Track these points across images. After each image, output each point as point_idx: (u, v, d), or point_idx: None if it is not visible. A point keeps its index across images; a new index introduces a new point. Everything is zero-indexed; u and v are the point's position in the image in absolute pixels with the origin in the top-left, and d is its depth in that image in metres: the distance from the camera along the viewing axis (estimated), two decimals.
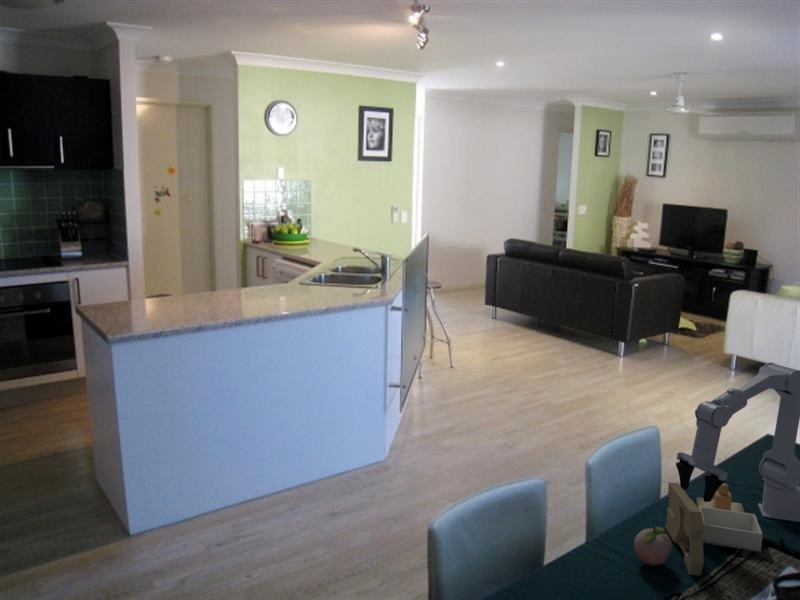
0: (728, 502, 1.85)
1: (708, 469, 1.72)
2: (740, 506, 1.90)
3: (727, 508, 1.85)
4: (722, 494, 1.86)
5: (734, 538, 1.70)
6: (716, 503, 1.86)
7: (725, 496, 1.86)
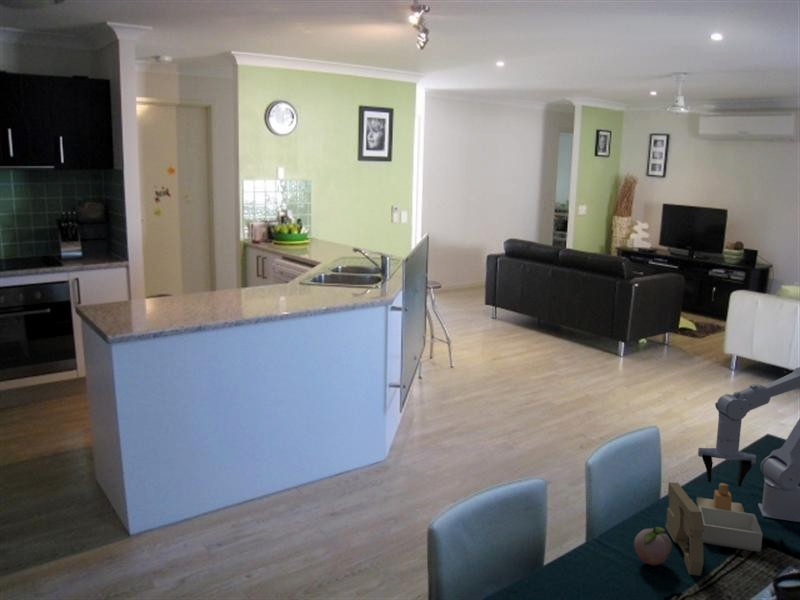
0: (728, 502, 1.85)
1: (742, 457, 1.82)
2: (740, 506, 1.90)
3: (727, 508, 1.85)
4: (722, 494, 1.86)
5: (734, 538, 1.70)
6: (716, 503, 1.86)
7: (725, 496, 1.86)
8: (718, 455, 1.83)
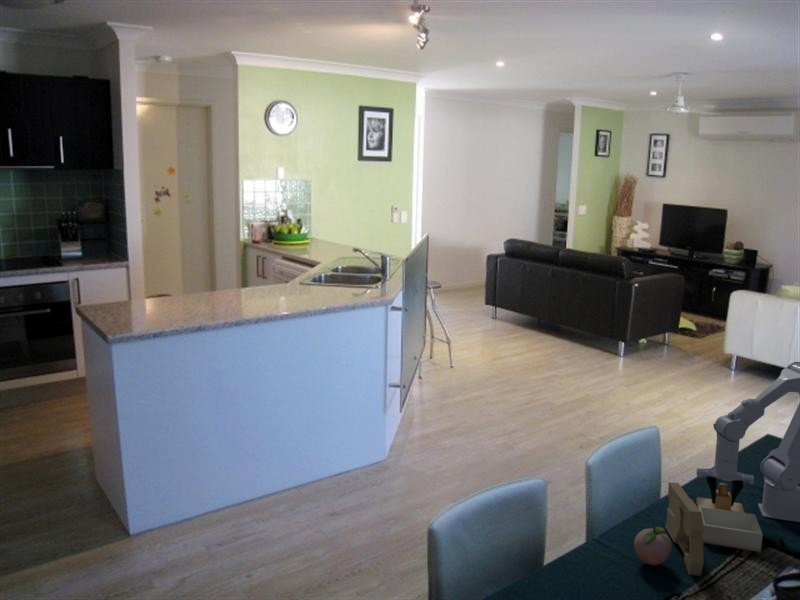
0: (728, 502, 1.85)
1: (740, 478, 1.83)
2: (740, 506, 1.90)
3: (727, 508, 1.85)
4: (722, 494, 1.86)
5: (734, 538, 1.70)
6: (716, 503, 1.86)
7: (725, 496, 1.86)
8: (716, 476, 1.84)
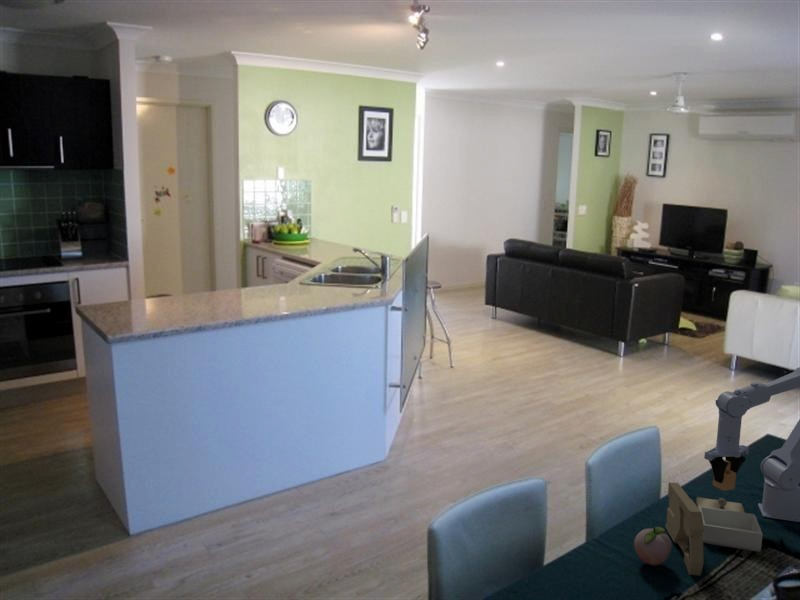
0: (733, 478, 1.85)
1: (742, 451, 1.84)
2: (740, 506, 1.90)
3: (732, 484, 1.85)
4: (727, 471, 1.85)
5: (734, 538, 1.70)
6: (725, 482, 1.84)
7: (730, 472, 1.85)
8: (727, 455, 1.82)
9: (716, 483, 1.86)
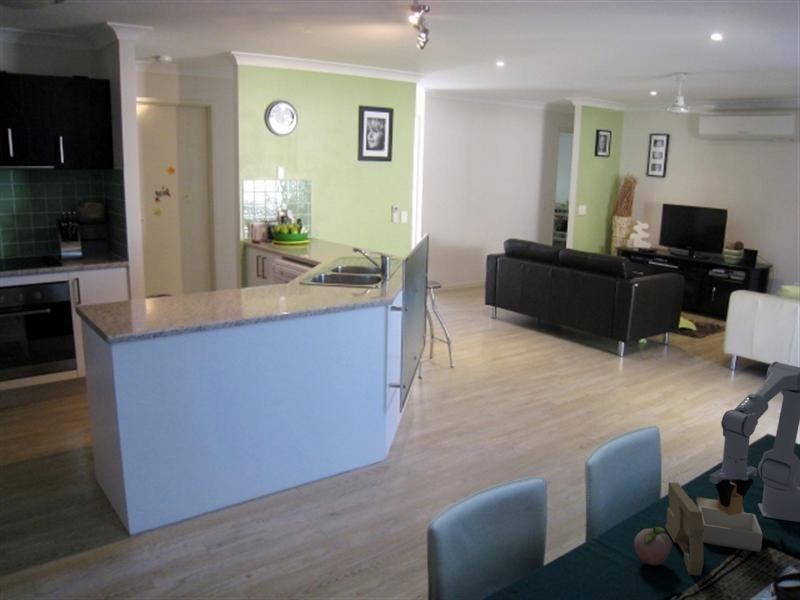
0: (740, 501, 1.73)
1: (750, 473, 1.72)
2: None
3: (739, 508, 1.73)
4: (733, 494, 1.73)
5: (734, 538, 1.70)
6: (731, 506, 1.72)
7: (736, 495, 1.73)
8: (734, 477, 1.70)
9: (721, 507, 1.75)
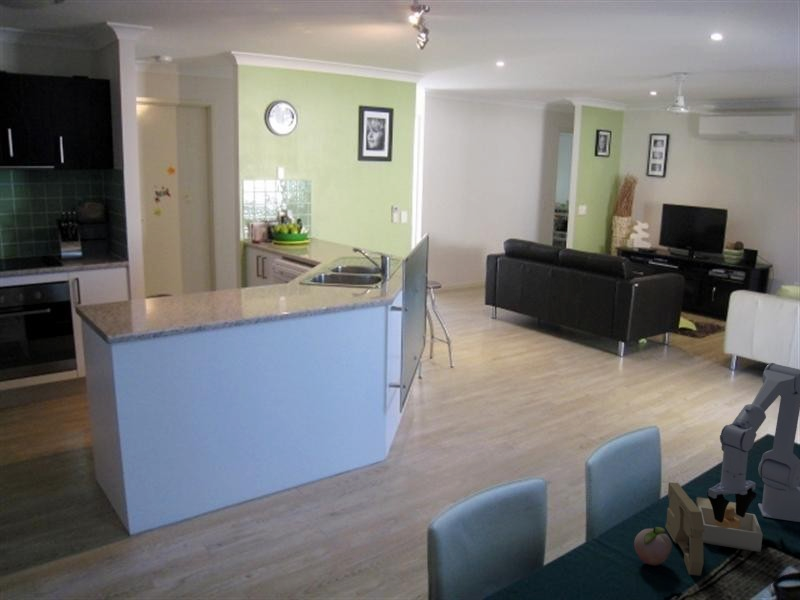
0: (738, 525, 1.74)
1: (748, 487, 1.73)
2: None
3: None
4: (731, 519, 1.74)
5: (734, 538, 1.70)
6: None
7: (734, 519, 1.74)
8: (732, 492, 1.70)
9: None
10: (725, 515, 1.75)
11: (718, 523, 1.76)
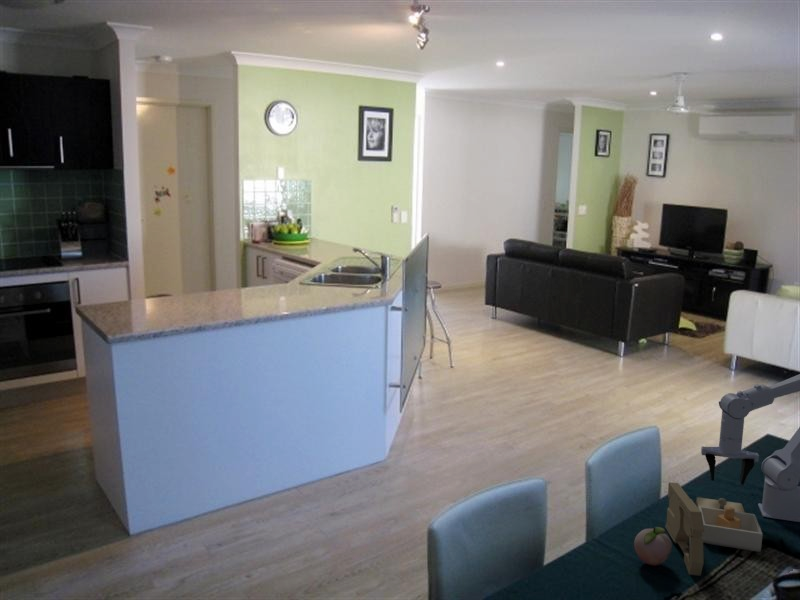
0: (738, 525, 1.74)
1: (745, 456, 1.84)
2: (740, 506, 1.90)
3: None
4: (731, 519, 1.74)
5: (734, 538, 1.70)
6: None
7: (734, 519, 1.74)
8: (721, 454, 1.85)
9: None
10: (725, 515, 1.75)
11: (718, 523, 1.76)
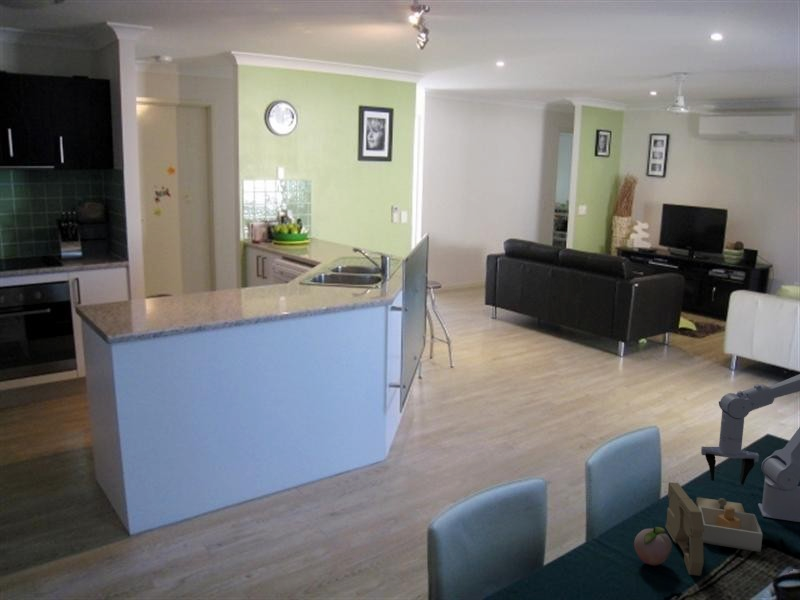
0: (738, 525, 1.74)
1: (745, 456, 1.84)
2: (740, 506, 1.90)
3: None
4: (731, 519, 1.74)
5: (734, 538, 1.70)
6: None
7: (734, 519, 1.74)
8: (721, 453, 1.85)
9: None
10: (725, 515, 1.75)
11: (718, 523, 1.76)
